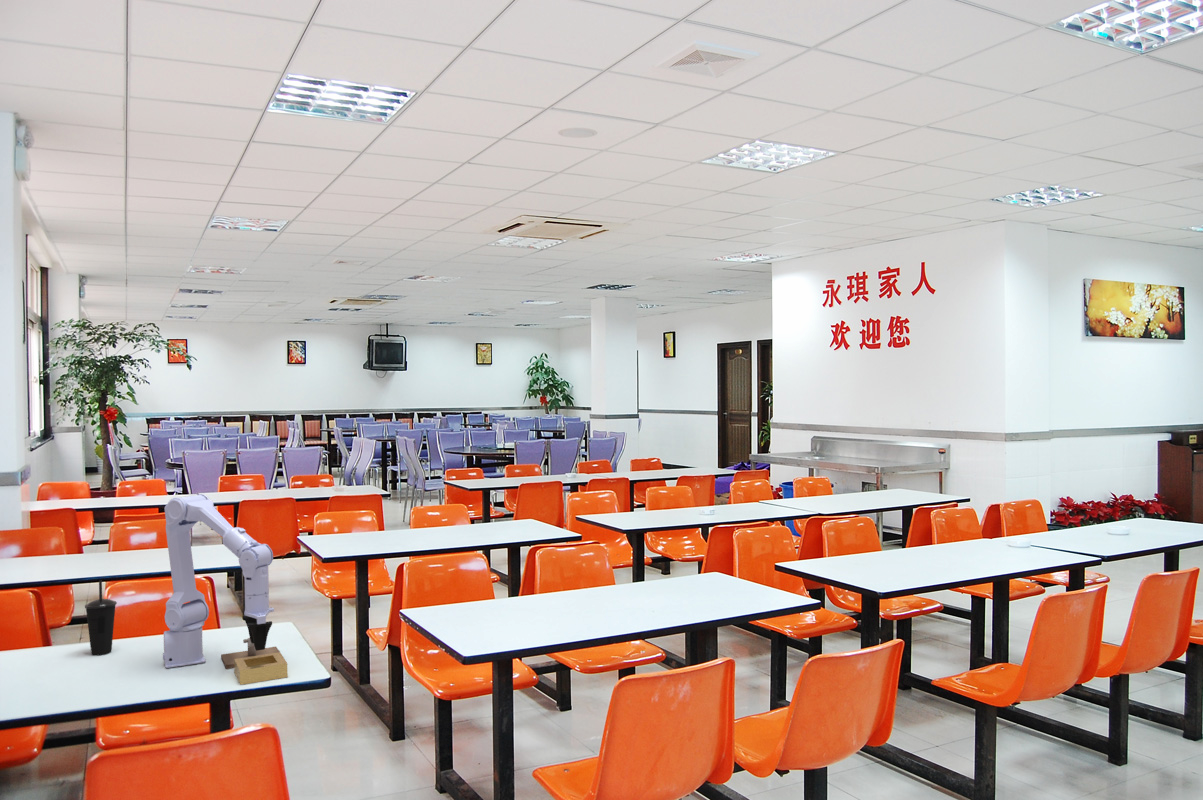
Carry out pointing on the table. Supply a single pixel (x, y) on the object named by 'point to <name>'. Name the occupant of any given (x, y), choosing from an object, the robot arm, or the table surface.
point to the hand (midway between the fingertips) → (257, 646)
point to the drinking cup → (100, 624)
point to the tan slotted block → (260, 668)
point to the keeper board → (245, 654)
